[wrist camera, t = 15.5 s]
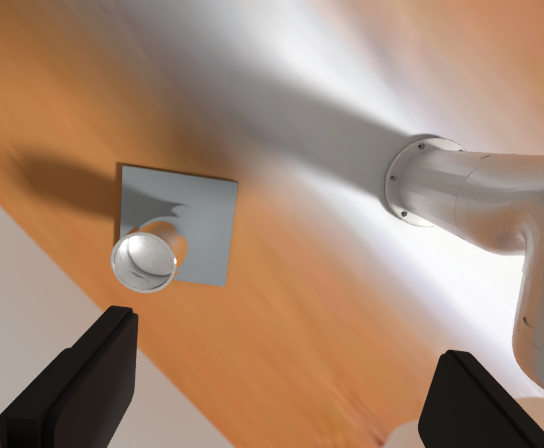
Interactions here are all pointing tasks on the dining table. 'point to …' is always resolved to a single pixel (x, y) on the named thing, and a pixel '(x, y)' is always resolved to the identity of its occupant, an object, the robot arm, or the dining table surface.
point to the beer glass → (156, 249)
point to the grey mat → (193, 193)
